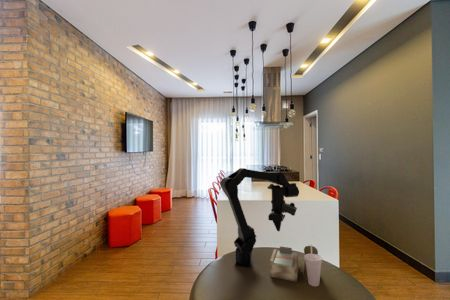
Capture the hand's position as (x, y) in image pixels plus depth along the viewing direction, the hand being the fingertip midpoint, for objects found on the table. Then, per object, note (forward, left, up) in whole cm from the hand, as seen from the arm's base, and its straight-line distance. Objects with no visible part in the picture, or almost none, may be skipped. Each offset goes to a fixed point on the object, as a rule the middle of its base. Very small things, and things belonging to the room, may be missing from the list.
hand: (278, 231), depth 103 cm
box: (+4, -13, -12) cm, 18 cm away
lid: (+4, -13, -7) cm, 15 cm away
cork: (+14, -12, -12) cm, 22 cm away
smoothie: (+15, -18, -12) cm, 26 cm away
